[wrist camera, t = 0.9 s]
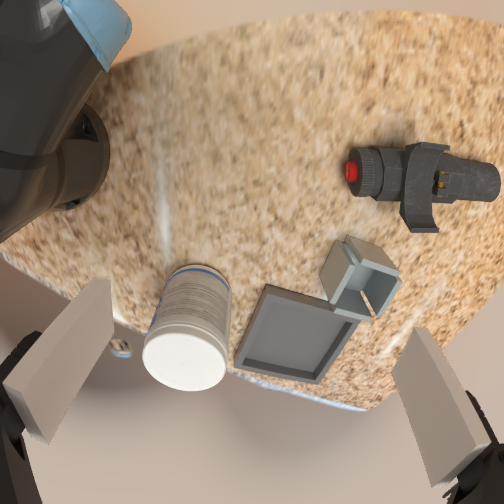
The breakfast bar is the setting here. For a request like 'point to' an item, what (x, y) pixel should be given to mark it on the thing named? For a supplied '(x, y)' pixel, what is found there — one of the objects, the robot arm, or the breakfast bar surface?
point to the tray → (293, 336)
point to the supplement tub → (190, 330)
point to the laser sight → (419, 180)
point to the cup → (359, 278)
